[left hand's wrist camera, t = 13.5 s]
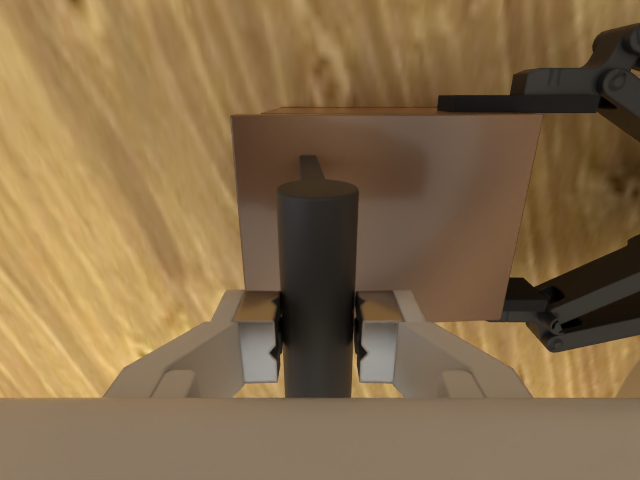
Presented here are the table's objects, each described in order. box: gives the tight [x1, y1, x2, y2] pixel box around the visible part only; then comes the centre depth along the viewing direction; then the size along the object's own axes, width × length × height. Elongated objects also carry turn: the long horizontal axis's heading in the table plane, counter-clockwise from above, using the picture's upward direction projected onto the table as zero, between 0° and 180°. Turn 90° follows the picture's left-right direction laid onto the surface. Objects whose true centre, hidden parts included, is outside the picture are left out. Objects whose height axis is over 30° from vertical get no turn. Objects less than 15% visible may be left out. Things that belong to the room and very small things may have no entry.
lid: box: [230, 113, 543, 398], centre depth 13 cm, size 13×10×8 cm
